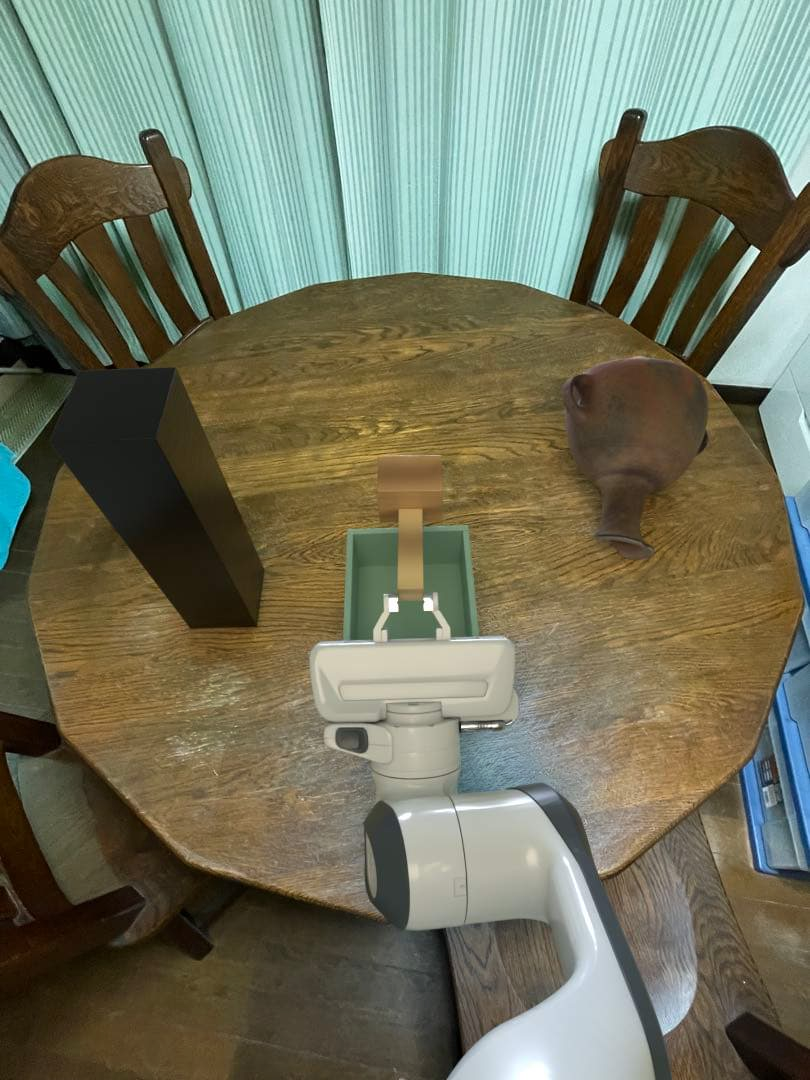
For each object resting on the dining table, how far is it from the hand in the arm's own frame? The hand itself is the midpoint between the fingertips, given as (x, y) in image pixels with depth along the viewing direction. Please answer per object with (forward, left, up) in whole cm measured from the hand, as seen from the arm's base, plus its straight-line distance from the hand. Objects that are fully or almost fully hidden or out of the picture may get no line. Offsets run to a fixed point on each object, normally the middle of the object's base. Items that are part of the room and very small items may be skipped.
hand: (410, 592), depth 59 cm
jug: (+41, +8, -20) cm, 46 cm away
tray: (+2, +4, -19) cm, 20 cm away
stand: (-16, +22, -19) cm, 34 cm away
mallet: (+4, +6, -2) cm, 7 cm away
